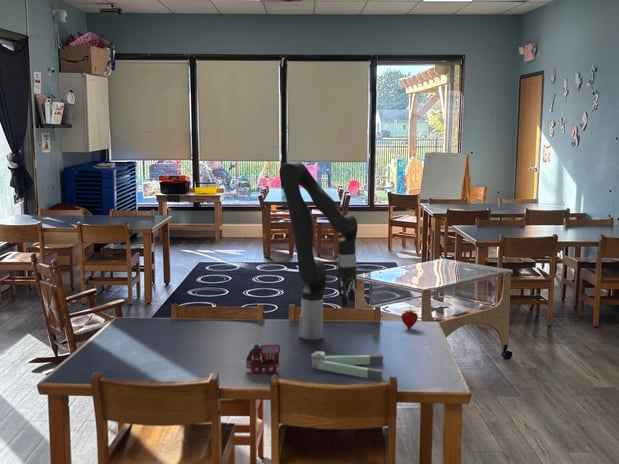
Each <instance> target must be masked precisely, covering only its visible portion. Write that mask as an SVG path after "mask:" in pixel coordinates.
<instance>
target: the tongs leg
mask: <svg viewBox="0 0 619 464" xmlns="http://www.w3.org/2000/svg"><path fill="white" fill-rule="evenodd" d="M320 359H321V357H320V358H312V357H311V368H312V369H313V370H321V371H326V372H332V373H337V374H338V373H339V374H344V375H348V376H354V377H360V378H364V379H365V378H366V379H370V380H377V381H381V380H382V379H383V369H379V368H372V367H364V366H360V365H359V366H358V365H347V364H342V363H336V362H330V361H325V360H320Z"/></svg>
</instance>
